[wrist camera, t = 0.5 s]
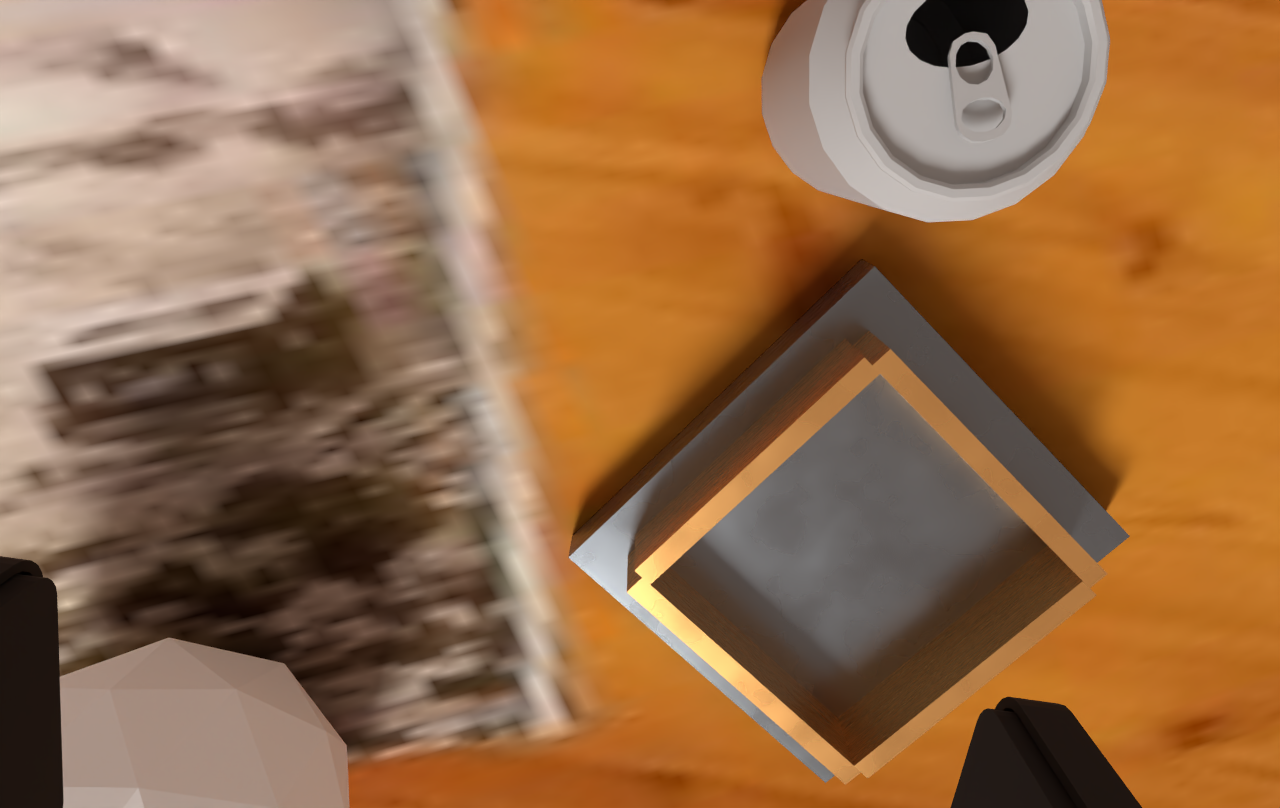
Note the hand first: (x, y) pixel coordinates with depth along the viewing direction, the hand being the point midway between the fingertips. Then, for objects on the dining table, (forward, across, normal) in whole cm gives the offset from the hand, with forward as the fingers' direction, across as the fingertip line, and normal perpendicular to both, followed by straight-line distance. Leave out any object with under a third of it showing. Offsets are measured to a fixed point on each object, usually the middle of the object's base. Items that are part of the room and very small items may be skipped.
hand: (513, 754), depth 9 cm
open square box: (+27, -11, +8) cm, 30 cm away
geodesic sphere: (+27, +14, +21) cm, 37 cm away
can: (+27, -8, -9) cm, 29 cm away
